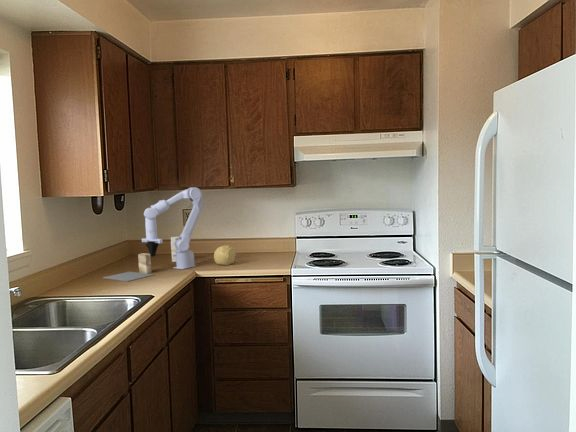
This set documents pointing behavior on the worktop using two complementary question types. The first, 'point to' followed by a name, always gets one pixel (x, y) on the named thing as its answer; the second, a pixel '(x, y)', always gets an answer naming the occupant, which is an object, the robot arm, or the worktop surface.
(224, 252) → the beige lumpy ball
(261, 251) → the worktop surface
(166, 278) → the worktop surface
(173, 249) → the ink cartridge box
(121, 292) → the worktop surface
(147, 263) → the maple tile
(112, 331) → the worktop surface
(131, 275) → the mat
